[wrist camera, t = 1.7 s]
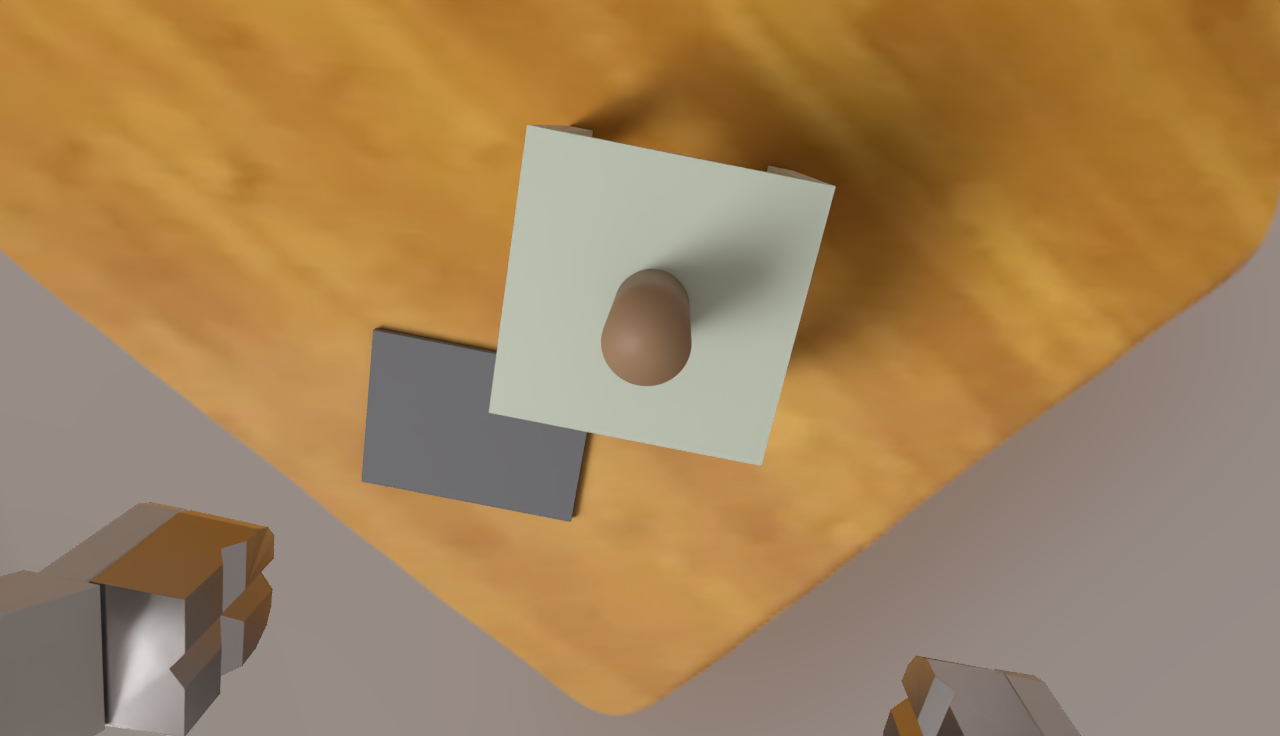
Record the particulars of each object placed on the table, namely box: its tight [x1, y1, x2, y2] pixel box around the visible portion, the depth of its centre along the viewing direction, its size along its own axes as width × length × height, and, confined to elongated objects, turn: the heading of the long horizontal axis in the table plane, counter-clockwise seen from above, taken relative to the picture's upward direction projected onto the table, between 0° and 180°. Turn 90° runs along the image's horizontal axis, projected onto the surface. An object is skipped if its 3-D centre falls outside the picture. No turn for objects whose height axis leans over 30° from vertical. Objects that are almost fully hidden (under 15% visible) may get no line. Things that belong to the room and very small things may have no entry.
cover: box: [489, 125, 836, 466], centre depth 30 cm, size 11×11×15 cm
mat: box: [362, 328, 587, 522], centre depth 40 cm, size 12×9×1 cm
